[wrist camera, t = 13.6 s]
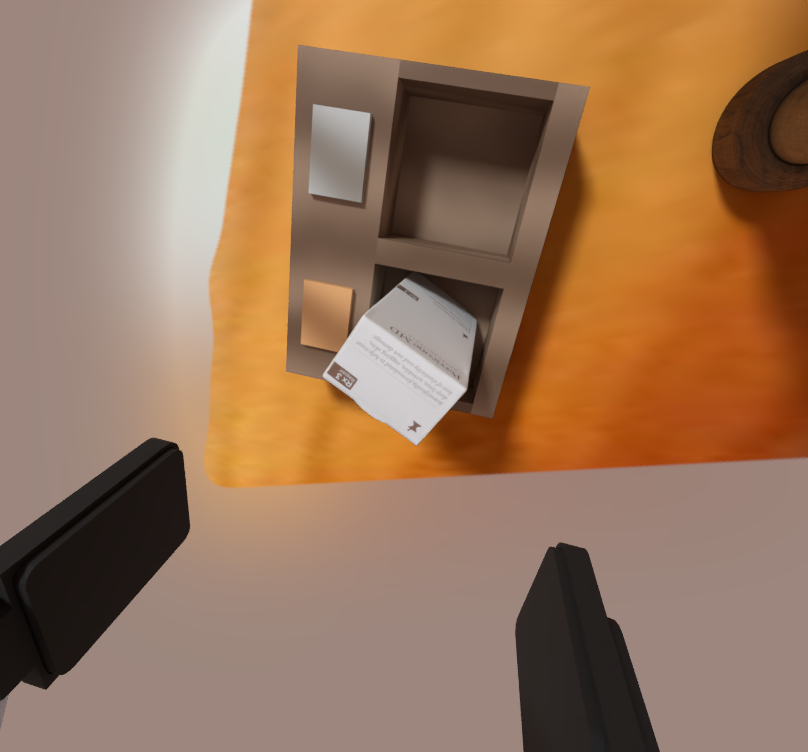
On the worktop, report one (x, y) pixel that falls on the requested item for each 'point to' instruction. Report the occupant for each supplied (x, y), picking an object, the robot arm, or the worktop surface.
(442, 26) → the worktop surface
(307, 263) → the socket block
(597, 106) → the worktop surface
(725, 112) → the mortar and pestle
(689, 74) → the worktop surface
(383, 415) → the skincare box
